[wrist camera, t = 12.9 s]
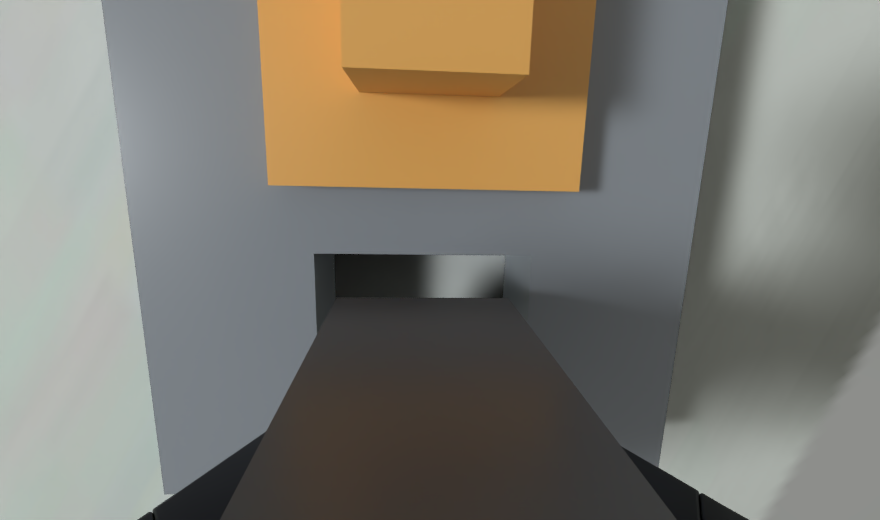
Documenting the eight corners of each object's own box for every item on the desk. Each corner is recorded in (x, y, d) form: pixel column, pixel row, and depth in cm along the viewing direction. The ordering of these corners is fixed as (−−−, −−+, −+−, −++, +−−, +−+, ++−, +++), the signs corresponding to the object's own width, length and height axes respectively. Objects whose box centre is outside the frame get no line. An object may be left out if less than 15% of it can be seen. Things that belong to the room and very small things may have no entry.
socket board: (610, 421, 16) (656, 479, 13) (212, 429, 15) (164, 494, 12) (666, -43, 13) (743, -103, 10) (163, -74, 12) (81, -153, 9)
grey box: (499, 286, 11) (820, 709, 3) (491, 425, 12) (712, 1101, 3) (342, 285, 11) (93, 763, 2) (345, 428, 12) (172, 1180, 3)
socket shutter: (566, 189, 11) (633, 200, 8) (278, 183, 10) (220, 192, 7) (594, -140, 9) (691, -296, 6) (259, -167, 9) (176, -353, 6)
